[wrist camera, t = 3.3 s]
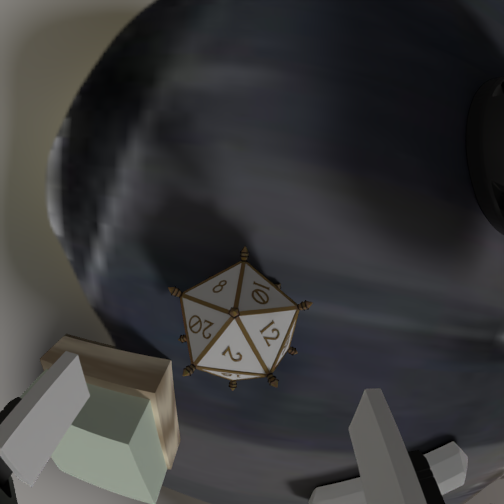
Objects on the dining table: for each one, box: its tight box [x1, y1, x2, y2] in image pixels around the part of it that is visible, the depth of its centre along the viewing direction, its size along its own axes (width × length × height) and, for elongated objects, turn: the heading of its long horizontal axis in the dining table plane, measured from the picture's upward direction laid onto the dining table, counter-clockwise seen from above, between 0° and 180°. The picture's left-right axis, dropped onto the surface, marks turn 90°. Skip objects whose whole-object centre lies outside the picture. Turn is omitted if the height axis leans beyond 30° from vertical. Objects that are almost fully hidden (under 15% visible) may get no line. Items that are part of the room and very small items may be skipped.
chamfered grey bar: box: [308, 441, 468, 504], centre depth 27 cm, size 7×7×24 cm
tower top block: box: [20, 369, 167, 504], centre depth 20 cm, size 11×11×5 cm
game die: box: [168, 246, 312, 391], centre depth 19 cm, size 9×8×10 cm
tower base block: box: [40, 334, 180, 470], centre depth 24 cm, size 12×12×5 cm
